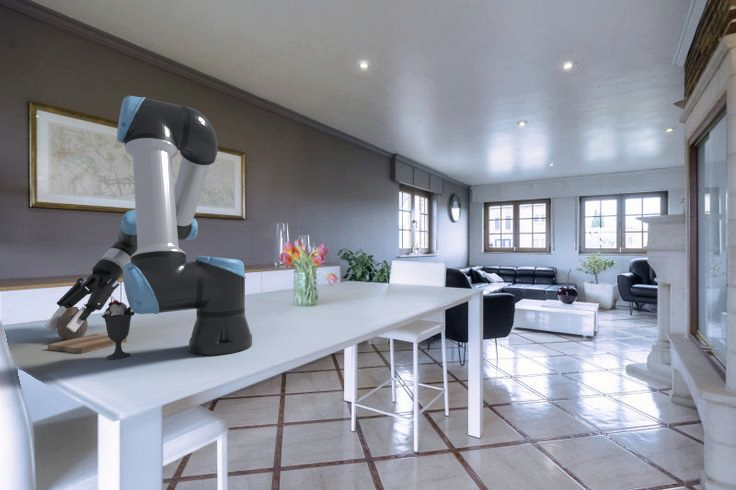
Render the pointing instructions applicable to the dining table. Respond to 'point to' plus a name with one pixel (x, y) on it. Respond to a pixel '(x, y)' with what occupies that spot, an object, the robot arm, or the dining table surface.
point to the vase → (65, 320)
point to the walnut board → (83, 344)
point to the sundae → (117, 325)
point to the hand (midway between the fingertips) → (59, 328)
